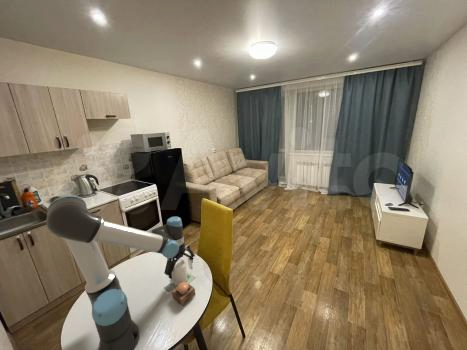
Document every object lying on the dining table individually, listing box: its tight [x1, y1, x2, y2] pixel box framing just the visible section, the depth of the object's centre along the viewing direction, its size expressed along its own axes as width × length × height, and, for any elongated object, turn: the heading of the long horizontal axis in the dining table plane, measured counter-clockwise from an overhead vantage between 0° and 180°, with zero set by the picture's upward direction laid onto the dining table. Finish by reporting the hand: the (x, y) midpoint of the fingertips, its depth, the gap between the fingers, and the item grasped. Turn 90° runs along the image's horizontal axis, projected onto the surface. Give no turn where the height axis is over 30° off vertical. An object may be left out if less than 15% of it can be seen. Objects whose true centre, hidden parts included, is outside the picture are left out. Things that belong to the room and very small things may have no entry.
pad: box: [169, 271, 197, 288], centre depth 115 cm, size 11×11×1 cm
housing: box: [171, 281, 196, 307], centre depth 103 cm, size 8×8×4 cm
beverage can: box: [172, 258, 188, 285], centre depth 113 cm, size 8×8×12 cm
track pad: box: [163, 282, 176, 293], centre depth 110 cm, size 4×4×1 cm
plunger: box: [176, 282, 190, 296], centre depth 103 cm, size 6×6×6 cm
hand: (182, 274), depth 114 cm, fingers open, 12 cm apart
